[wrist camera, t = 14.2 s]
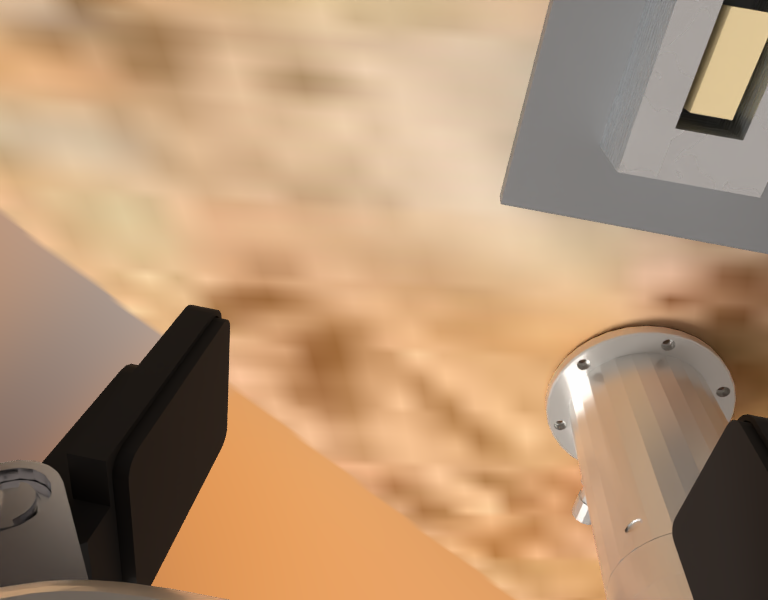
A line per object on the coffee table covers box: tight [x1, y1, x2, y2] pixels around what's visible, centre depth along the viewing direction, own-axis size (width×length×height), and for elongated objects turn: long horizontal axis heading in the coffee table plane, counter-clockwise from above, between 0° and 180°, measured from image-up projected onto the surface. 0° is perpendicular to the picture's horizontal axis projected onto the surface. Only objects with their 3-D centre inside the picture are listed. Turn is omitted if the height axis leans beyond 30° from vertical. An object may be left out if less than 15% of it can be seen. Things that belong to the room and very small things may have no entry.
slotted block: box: [600, 0, 768, 198], centre depth 30 cm, size 11×7×5 cm, turn 172°
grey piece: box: [500, 0, 768, 254], centre depth 31 cm, size 20×16×6 cm
